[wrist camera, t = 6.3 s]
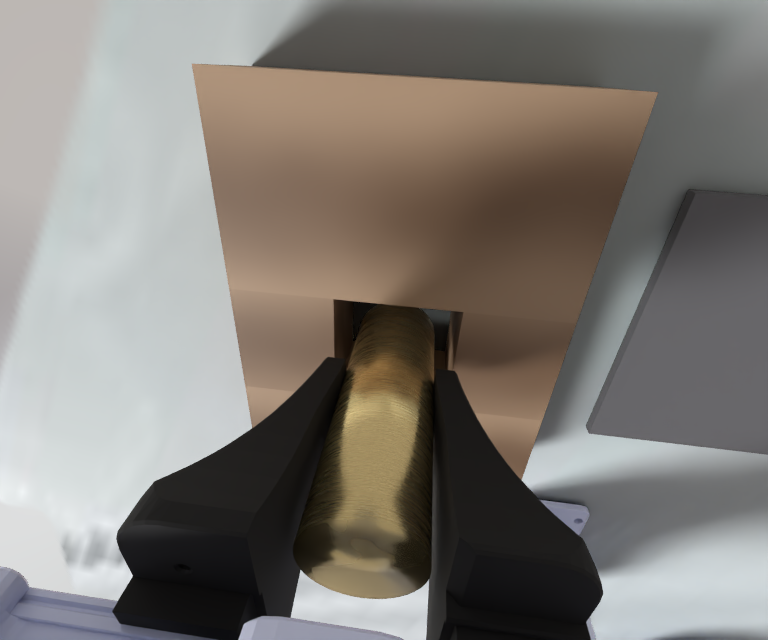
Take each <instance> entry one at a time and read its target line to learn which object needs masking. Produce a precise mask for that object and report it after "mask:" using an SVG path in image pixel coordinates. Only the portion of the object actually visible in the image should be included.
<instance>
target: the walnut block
mask: <svg viewBox="0 0 768 640" xmlns="http://www.w3.org/2000/svg"><path fill="white" fill-rule="evenodd" d="M192 67H193V73H194V79H195V85H196V92H197V98H198V104H199V110H200V116H201V122H202V128H203V134H204V140H205V146H206V152H207V158H208V164H209V170H210V176H211V182H212V188H213V194H214V200H215V206H216V212H217V218H218V224H219V230H220V236H221V242H222V248H223V254H224V260H225V266H226V272H227V278H228V284H229V290H230V296H231V302H232V308H233V314H234V320H235V326H236V332H237V338H238V344H239V350H240V356H241V362H242V368H243V374H244V380H245V386H246V392H247V398H248V404H249V410H250V416H251V422H252V428H253V427H255V426H256V425H257V424H259V423H260V422H261V421H263V420H264V419H265V418H266V417H268V416H269V415H270V414H271V413H272V412H274V411H275V410H276V409H277V408H278V407H279V406H280V405H281V404H283V403H284V402H285V401H286V400H287V399H288V398H289V397H290V396H291V395H292V394H293V393H294V392H295V391H296V390H297V389H298V388H299V387H300V386H301V385H302V384H303V383H304V382H305V381H306V380H307V379H308V378H309V377H310V376H311V375H312V374H313V372H314V371H315V370H316V369H317V368H318V367H319V366H320V364H321V363H322V362H323V361H324V360H325V359H326V358H327V357H334V358H343V359H346V371H347V367H348V364H349V361H350V358H351V354H352V351H353V348H354V345H355V341H353V301H357V302H367V303H377V304H387V305H397V306H407V307H417V308H427V309H437V310H447V311H451V315H450V321H449V328H448V334H447V340H446V347H445V351H439V350H434V378H435V372H436V369H443V370H452V371H455V372H456V373H457V375H458V378H459V381H460V383H461V386H462V388H463V391H464V393H465V395H466V397H467V399H468V401H469V403H470V405H471V407H472V409H473V411H474V413H475V415H476V417H477V418H478V420H479V422H480V424H481V425H482V427H483V429H484V430H485V432H486V434H487V435H488V437H489V438H490V440H491V441H492V443H493V444H494V446H495V447H496V449H497V450H498V452H499V453H500V454H501V456H502V457H503V458H504V460H505V461H506V462H507V464H508V465H509V466H510V467H511V469H512V470H513V471H514V472H515V474H516V475H517V476H518V477H519V478H520V479H521V480H522V477H523V474H524V471H525V468H526V465H527V463H528V460H529V457H530V454H531V451H532V448H533V446H534V443H535V440H536V437H537V434H538V431H539V429H540V426H541V423H542V420H543V417H544V414H545V412H546V409H547V406H548V403H549V400H550V397H551V395H552V392H553V389H554V386H555V383H556V380H557V378H558V375H559V372H560V369H561V366H562V363H563V361H564V358H565V355H566V352H567V349H568V346H569V344H570V341H571V338H572V335H573V332H574V329H575V327H576V324H577V321H578V318H579V315H580V312H581V310H582V307H583V304H584V301H585V298H586V295H587V293H588V290H589V287H590V284H591V281H592V278H593V276H594V273H595V270H596V267H597V264H598V261H599V259H600V256H601V253H602V250H603V247H604V244H605V241H606V239H607V236H608V233H609V230H610V227H611V224H612V222H613V219H614V216H615V213H616V210H617V207H618V205H619V202H620V199H621V196H622V193H623V190H624V188H625V185H626V182H627V179H628V176H629V173H630V171H631V168H632V165H633V162H634V159H635V156H636V154H637V151H638V148H639V145H640V142H641V139H642V137H643V134H644V131H645V128H646V125H647V122H648V120H649V117H650V114H651V111H652V108H653V105H654V103H655V100H656V97H657V94H658V92H649V91H638V90H627V89H615V88H604V87H588V86H571V85H555V84H538V83H522V82H505V81H489V80H472V79H456V78H439V77H423V76H406V75H390V74H373V73H357V72H340V71H324V70H307V69H291V68H274V67H258V66H235V65H208V64H192Z"/></svg>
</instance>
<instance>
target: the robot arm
mask: <svg viewBox="0 0 768 640" xmlns="http://www.w3.org/2000/svg"><path fill="white" fill-rule="evenodd" d="M345 374H346V359H343V358H334V357H327V358H326V359H325V360H324V361H323V362H322V363H321V364H320V366H319V367H318V368H317V369H316V370H315V371H314V372H313V374H312V375H311V376H310V377H309V378H308V379H307V380H306V381H305V382H304V383H303V384H302V385H301V386H300V387H299V388H298V389H297V390H296V391H295V392H294V393H293V394H292V395H291V396H290V397H289V398H288V399H287V400H286V401H285V402H284V403H283V404H281V405H280V406H279V407H278V408H277V409H276V410H275V411H274V412H272V413H271V414H270V415H269V416H268V417H266V418H265V419H264V420H263V421H261V422H260V423H259V424H257V425H256V426H255V427H253V428H252V429H251V430H249V431H248V432H246V433H245V434H243V435H242V436H240V437H239V438H237V439H236V440H234V441H233V442H231V443H230V444H228V445H227V446H225V447H223V448H222V449H220V450H218V451H216V452H215V453H213V454H211V455H209V456H207V457H205V458H203V459H202V460H200V461H198V462H196V463H194V464H192V465H190V466H188V467H186V468H183V469H181V470H179V471H177V472H175V473H172V474H170V475H168V476H166V477H164V478H161V479H159V480H157V481H155V482H154V483H153V484H152V485H151V486H150V488H149V489H148V490H147V491H146V492H145V494H144V495H143V496H142V497H141V499H140V500H139V502H138V503H137V504H136V506H135V507H134V509H133V510H132V512H131V513H130V514H129V516H128V517H127V519H126V520H125V522H124V523H123V525H122V526H121V527H120V529H119V530H118V533H117V538H116V539H117V543H118V546H119V549H120V552H121V553H122V555H123V557H124V559H125V561H126V563H127V565H128V567H129V569H130V571H131V573H132V575H133V577H132V579H131V580H130V582H129V584H128V585H127V587H126V589H125V590H124V592H123V594H122V595H121V597H120V599H119V600H118V601H114V600H107V599H101V598H95V597H88V596H82V595H76V594H69V593H63V592H56V591H50V590H43V589H38V588H31V587H29V584H28V582H27V580H26V579H25V578H24V576H22V575H21V574H20V573H19V572H17V571H15V570H13V569H10V568H6V567H0V640H403V639H402V638H400V637H396V636H393V635H389V634H386V633H382V632H377V631H371V630H365V629H358V628H352V627H345V626H339V625H332V624H326V623H320V622H313V621H307V620H300V619H294V618H290V617H291V612H292V607H293V602H294V597H295V593H296V588H297V583H298V579H299V574H300V568H299V567H298V565H297V564H296V562H295V560H294V557H293V544H294V541H295V538H296V534H297V531H298V528H299V524H300V521H301V518H302V515H303V511H304V508H305V505H306V502H307V498H308V495H309V492H310V489H311V485H312V482H313V479H314V475H315V472H316V469H317V466H318V462H319V459H320V456H321V453H322V449H323V446H324V443H325V439H326V436H327V433H328V430H329V426H330V423H331V420H332V417H333V413H334V410H335V407H336V403H337V400H338V397H339V394H340V390H341V387H342V384H343V381H344V377H345ZM433 407H434V410H433V491H432V569H431V575H430V578H429V596H428V618H427V637H426V640H596V637H595V633H594V630H593V626H592V623H591V619H590V616H591V614H592V613H593V611H594V610H595V608H596V607H597V605H598V604H599V602H600V600H601V598H602V595H603V590H602V584H601V581H600V578H599V575H598V572H597V569H596V567H595V564H594V562H593V560H592V557H591V555H590V553H589V551H588V549H587V546H586V544H585V542H584V540H583V539H582V538H581V537H580V536H579V535H580V533H581V531H582V529H583V528H584V526H585V524H586V522H587V520H588V518H589V516H590V514H589V511H588V509H587V507H585V506H582V505H576V504H568V503H560V502H553V501H545V500H539V499H538V498H537V497H536V496H535V495H534V494H533V493H532V491H531V490H530V489H529V488H528V487H527V486H526V485H525V484H524V483H523V482H522V480H521V479H520V478H519V477H518V476H517V475H516V474H515V472H514V471H513V470H512V469H511V467H510V466H509V465H508V464H507V462H506V461H505V460H504V458H503V457H502V456H501V454H500V453H499V452H498V450H497V449H496V447H495V446H494V444H493V443H492V441H491V440H490V438H489V437H488V435H487V434H486V432H485V430H484V429H483V427H482V425H481V424H480V422H479V420H478V418H477V417H476V415H475V413H474V411H473V409H472V407H471V405H470V403H469V401H468V399H467V397H466V395H465V393H464V391H463V388H462V386H461V383H460V381H459V378H458V375H457V373H456V372H455V371H452V370H443V369H436V372H435V378H434V399H433Z"/></svg>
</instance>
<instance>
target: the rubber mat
mask: <svg viewBox="0 0 768 640" xmlns="http://www.w3.org/2000/svg"><path fill="white" fill-rule="evenodd" d="M586 428H587V430H588V432H589V433H590V434H598V435H607V436H615V437H624V438H632V439H641V440H649V441H658V442H666V443H675V444H683V445H692V446H700V447H709V448H717V449H725V450H734V451H742V452H751V453H759V454H768V196H767V195H754V194H741V193H728V192H715V191H702V190H688V192H687V195H686V197H685V199H684V201H683V204H682V206H681V208H680V211H679V213H678V215H677V218H676V220H675V222H674V224H673V227H672V229H671V231H670V234H669V236H668V238H667V241H666V243H665V245H664V247H663V250H662V252H661V254H660V257H659V259H658V261H657V264H656V266H655V268H654V270H653V273H652V275H651V277H650V280H649V282H648V284H647V287H646V289H645V291H644V293H643V296H642V298H641V300H640V303H639V305H638V307H637V310H636V312H635V314H634V316H633V319H632V321H631V323H630V326H629V328H628V330H627V333H626V335H625V337H624V339H623V342H622V344H621V346H620V349H619V351H618V353H617V356H616V358H615V360H614V362H613V365H612V367H611V369H610V372H609V374H608V376H607V379H606V381H605V383H604V385H603V388H602V390H601V392H600V395H599V397H598V399H597V402H596V404H595V406H594V408H593V411H592V413H591V415H590V418H589V420H588V422H587V425H586Z"/></svg>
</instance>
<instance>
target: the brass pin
mask: <svg viewBox="0 0 768 640" xmlns="http://www.w3.org/2000/svg"><path fill="white" fill-rule="evenodd" d="M433 399H434V327H433V324H432V322H431V320H430V318H429V317H428V316H427V314H426V313H425V312H423V311H422V310H421V309H420V308H417V307H407V306H397V305H387V304H378V305H376V306H375V307H373V308H372V309H370V310H369V311H368V312H367V313H366V314H365V316H364V318H363V320H362V322H361V325H360V328H359V332H358V335H357V338H356V341H355V345H354V348H353V351H352V354H351V358H350V361H349V364H348V367H347V371H346V374H345V377H344V381H343V384H342V387H341V390H340V394H339V397H338V400H337V403H336V407H335V410H334V413H333V417H332V420H331V423H330V426H329V430H328V433H327V436H326V439H325V443H324V446H323V449H322V453H321V456H320V459H319V462H318V466H317V469H316V472H315V475H314V479H313V482H312V485H311V489H310V492H309V495H308V498H307V502H306V505H305V508H304V511H303V515H302V518H301V521H300V524H299V528H298V531H297V534H296V538H295V541H294V544H293V557H294V560H295V562H296V564H297V565H298V567H299V568H300V569H301V570H302V571H303V572H304V573H305V574H306V575H307V576H308V577H309V578H311V579H312V580H314V581H315V582H317V583H318V584H320V585H322V586H324V587H326V588H328V589H331V590H333V591H336V592H339V593H342V594H346V595H350V596H354V597H360V598H369V599H387V598H395V597H400V596H404V595H407V594H410V593H412V592H415V591H416V590H418V589H420V588H421V587H422V586H424V585H425V583H426V582H427V581H428V579H429V578H430V575H431V569H432V491H433V410H434V407H433Z"/></svg>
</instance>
